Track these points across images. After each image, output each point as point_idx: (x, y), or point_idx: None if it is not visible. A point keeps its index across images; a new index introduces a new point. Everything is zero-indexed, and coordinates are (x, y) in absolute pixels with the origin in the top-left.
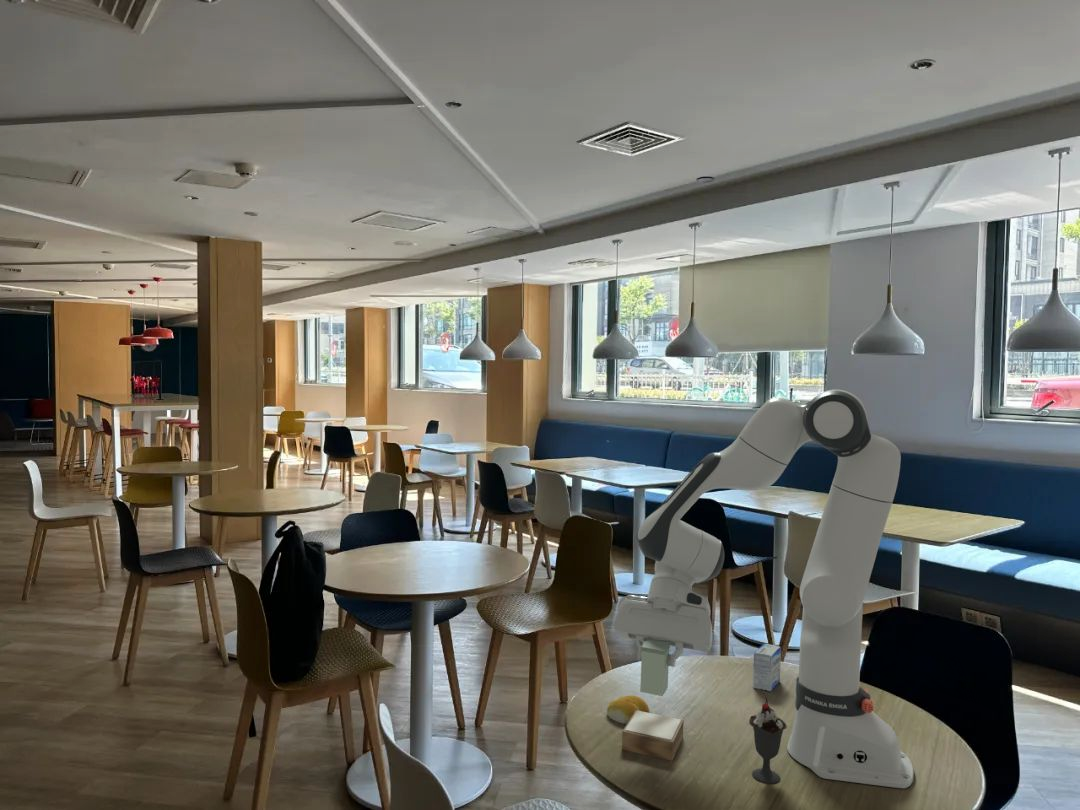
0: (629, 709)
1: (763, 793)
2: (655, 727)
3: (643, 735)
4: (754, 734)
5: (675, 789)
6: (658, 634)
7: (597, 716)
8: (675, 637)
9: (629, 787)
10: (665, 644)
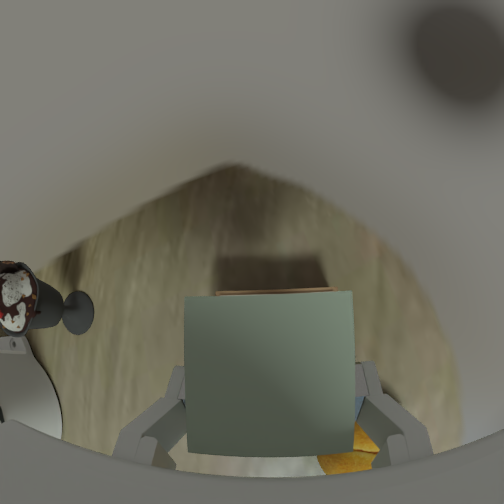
0: None
1: (81, 261)
2: None
3: (286, 290)
4: (47, 297)
5: (200, 206)
6: (273, 489)
7: (418, 398)
8: (140, 474)
9: (272, 177)
10: (208, 422)
